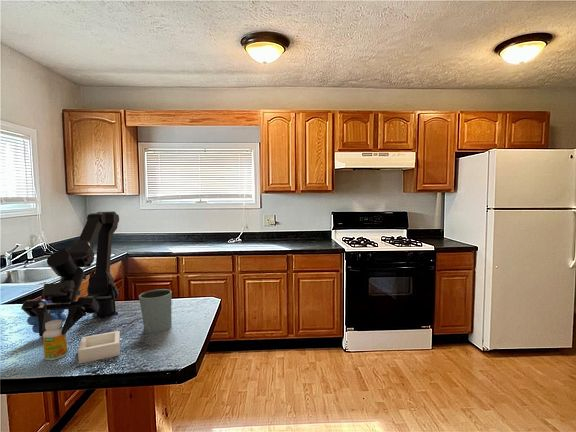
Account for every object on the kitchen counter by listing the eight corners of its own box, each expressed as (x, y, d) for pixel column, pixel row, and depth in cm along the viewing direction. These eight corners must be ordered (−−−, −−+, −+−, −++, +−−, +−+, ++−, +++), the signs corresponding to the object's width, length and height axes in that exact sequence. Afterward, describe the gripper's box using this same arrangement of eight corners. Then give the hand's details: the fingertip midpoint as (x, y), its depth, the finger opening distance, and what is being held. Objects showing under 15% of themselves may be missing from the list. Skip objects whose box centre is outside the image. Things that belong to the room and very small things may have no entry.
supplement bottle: (42, 362, 92) (40, 327, 91) (46, 354, 97) (43, 320, 96) (66, 357, 94) (64, 323, 94) (68, 350, 99) (66, 317, 99)
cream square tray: (82, 348, 100) (82, 337, 99) (120, 341, 104) (119, 330, 104) (78, 363, 91) (78, 350, 91) (119, 355, 95) (119, 342, 95)
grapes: (37, 344, 104) (34, 305, 103) (24, 340, 107) (21, 303, 106) (74, 329, 115) (72, 294, 114) (61, 327, 117) (59, 292, 116)
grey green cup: (179, 327, 114) (177, 292, 113) (149, 337, 106) (147, 299, 106) (164, 320, 121) (162, 287, 120) (135, 329, 113) (133, 293, 113)
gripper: (22, 272, 97) (-3, 325, 87) (92, 269, 99) (76, 320, 89) (41, 291, 105) (20, 342, 95) (105, 288, 107) (91, 337, 97)
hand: (51, 335), depth 94 cm, fingers closed on supplement bottle, 5 cm apart
